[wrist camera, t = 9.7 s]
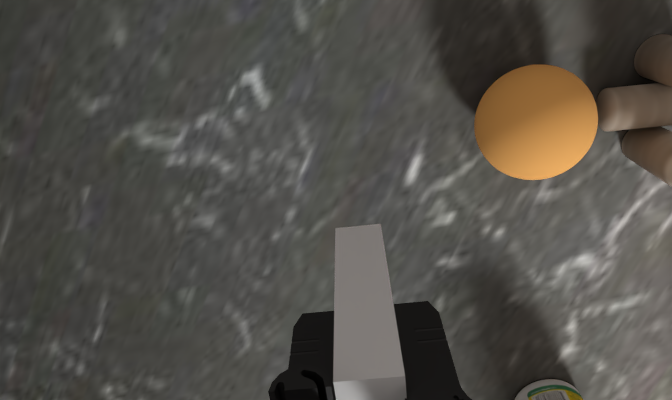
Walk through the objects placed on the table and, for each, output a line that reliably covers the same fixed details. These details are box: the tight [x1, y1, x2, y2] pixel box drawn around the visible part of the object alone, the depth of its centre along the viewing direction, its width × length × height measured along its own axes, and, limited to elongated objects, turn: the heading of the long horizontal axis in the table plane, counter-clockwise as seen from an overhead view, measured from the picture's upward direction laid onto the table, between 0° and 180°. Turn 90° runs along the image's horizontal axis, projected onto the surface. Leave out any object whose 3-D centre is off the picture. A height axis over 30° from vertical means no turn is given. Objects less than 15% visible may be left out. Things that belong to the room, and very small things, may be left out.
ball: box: [474, 65, 598, 180], centre depth 25 cm, size 6×6×6 cm
